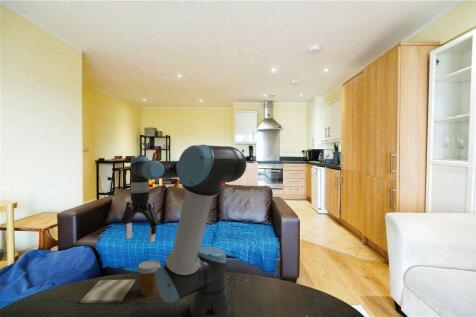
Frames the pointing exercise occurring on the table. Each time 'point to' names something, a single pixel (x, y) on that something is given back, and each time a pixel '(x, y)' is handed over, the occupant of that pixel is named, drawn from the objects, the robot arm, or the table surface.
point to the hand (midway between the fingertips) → (140, 239)
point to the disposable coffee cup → (148, 277)
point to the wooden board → (108, 291)
